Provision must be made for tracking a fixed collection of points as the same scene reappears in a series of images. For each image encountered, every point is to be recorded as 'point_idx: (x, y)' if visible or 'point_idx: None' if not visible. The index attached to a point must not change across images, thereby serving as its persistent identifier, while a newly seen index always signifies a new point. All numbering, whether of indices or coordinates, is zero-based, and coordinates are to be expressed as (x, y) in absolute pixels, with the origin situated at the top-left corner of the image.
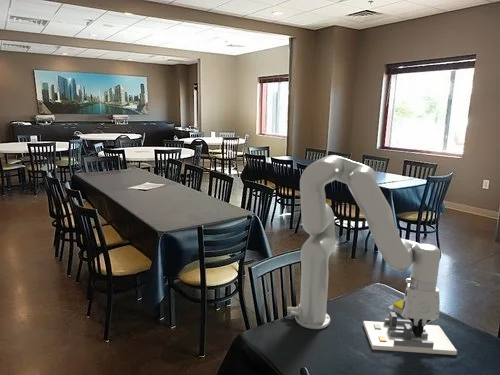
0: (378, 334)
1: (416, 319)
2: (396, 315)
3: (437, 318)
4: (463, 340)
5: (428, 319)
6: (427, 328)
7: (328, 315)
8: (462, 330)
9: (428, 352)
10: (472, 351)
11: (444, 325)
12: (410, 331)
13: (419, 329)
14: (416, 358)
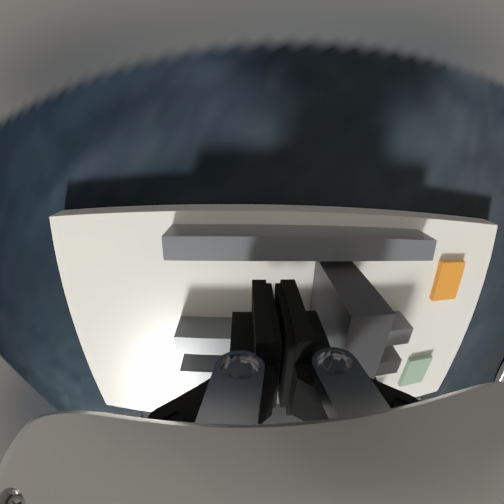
0: (441, 315)
1: (356, 411)
2: None
3: (37, 417)
4: (31, 323)
5: (188, 423)
6: (159, 393)
7: (501, 378)
8: (38, 375)
9: (208, 204)
10: (8, 251)
11: (90, 405)
12: (358, 303)
13: (277, 325)
14: (307, 143)
